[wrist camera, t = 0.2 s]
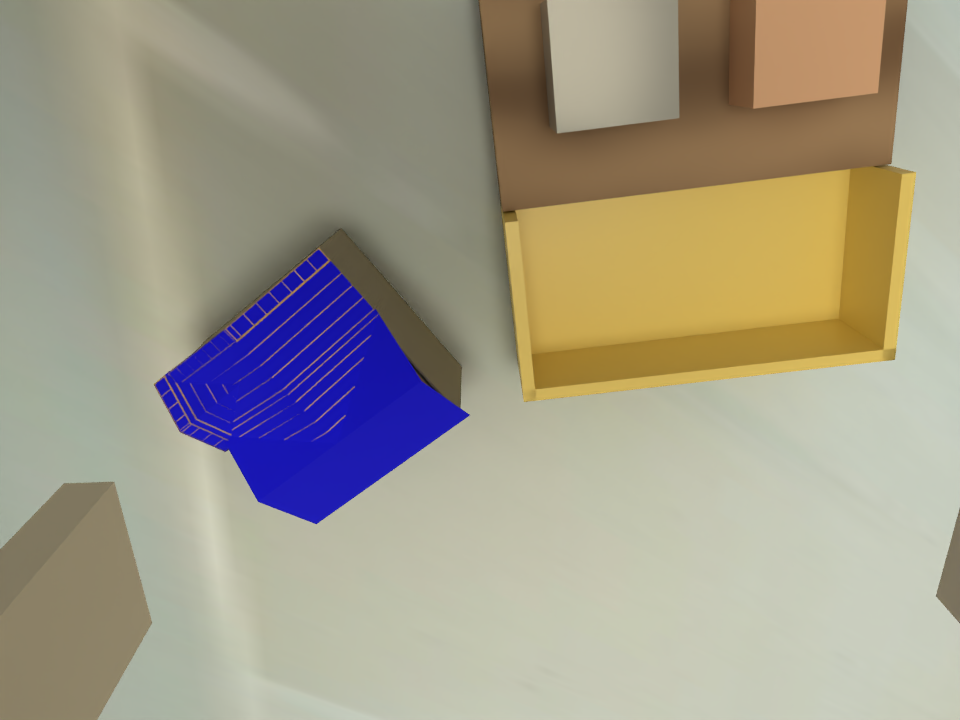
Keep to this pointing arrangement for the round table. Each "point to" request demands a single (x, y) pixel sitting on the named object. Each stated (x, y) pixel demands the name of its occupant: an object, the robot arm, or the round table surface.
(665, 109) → the grey square block
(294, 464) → the house
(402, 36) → the round table surface
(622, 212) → the yellow tray
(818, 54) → the peach block
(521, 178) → the walnut board
